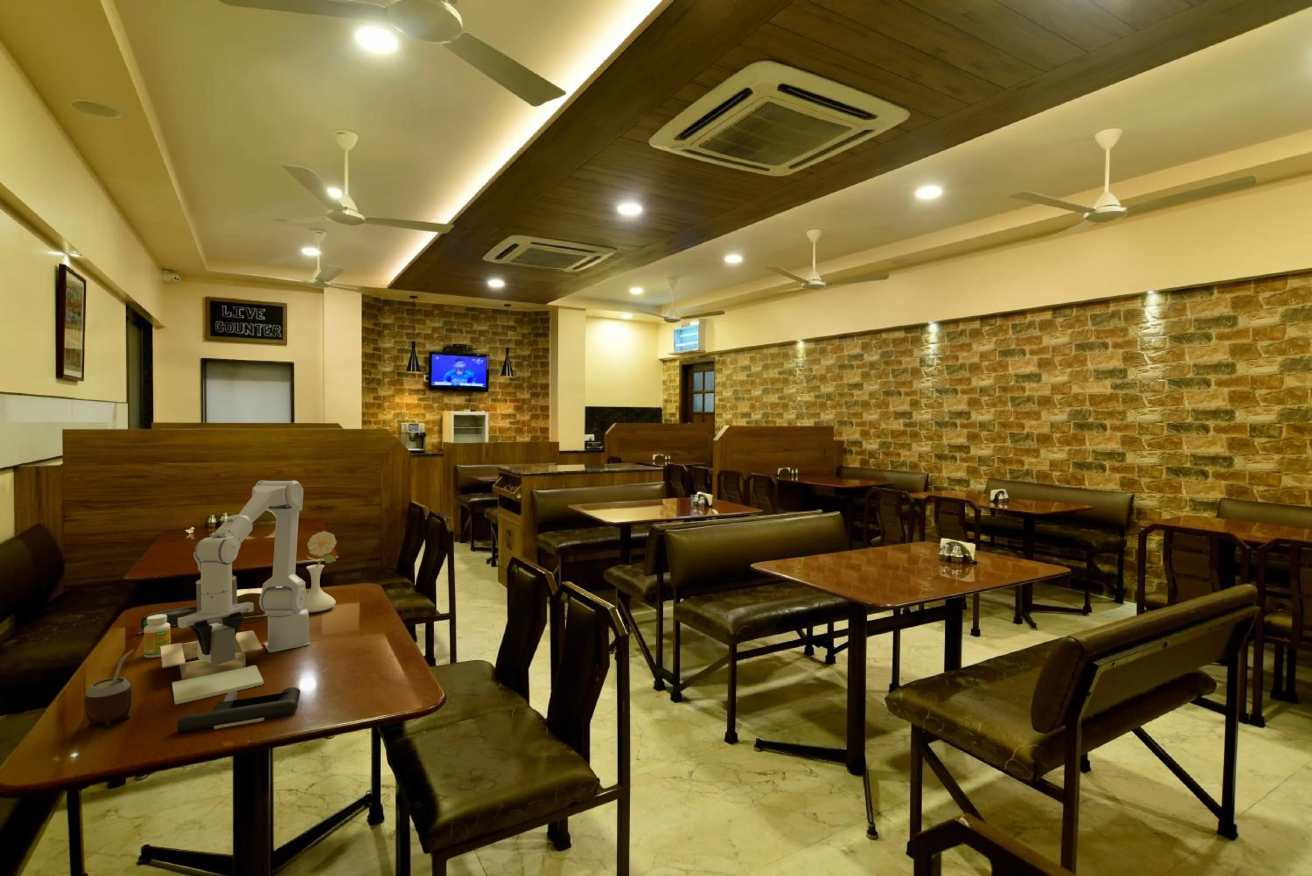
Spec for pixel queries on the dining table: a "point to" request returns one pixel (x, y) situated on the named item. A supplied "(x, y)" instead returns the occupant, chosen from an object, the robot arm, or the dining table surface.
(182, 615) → the dark grey stapler
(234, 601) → the pillar candle
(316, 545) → the flower in vase
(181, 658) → the carton
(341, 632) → the dining table surface
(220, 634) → the block
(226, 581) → the robot arm
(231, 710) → the door handle
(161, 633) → the supplement bottle
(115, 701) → the mate gourd
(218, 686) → the sage board
